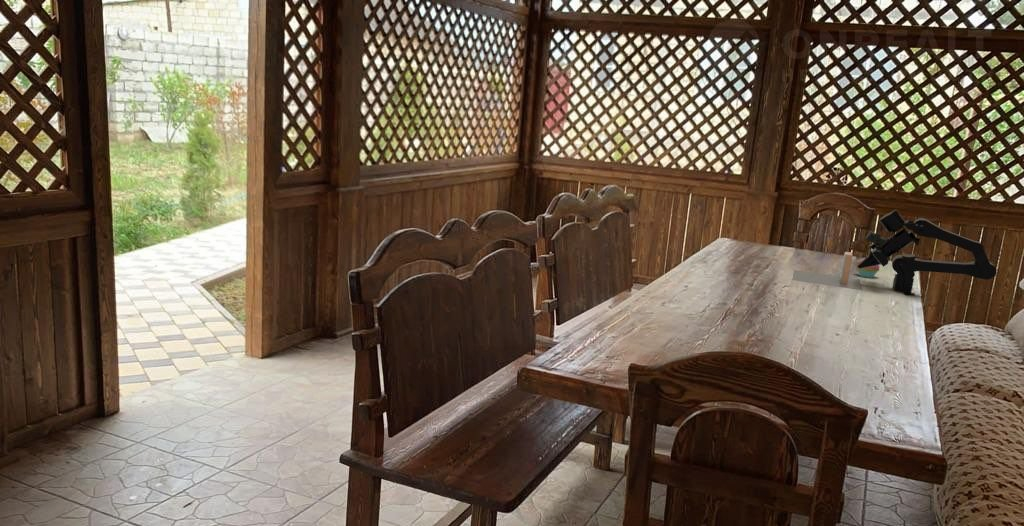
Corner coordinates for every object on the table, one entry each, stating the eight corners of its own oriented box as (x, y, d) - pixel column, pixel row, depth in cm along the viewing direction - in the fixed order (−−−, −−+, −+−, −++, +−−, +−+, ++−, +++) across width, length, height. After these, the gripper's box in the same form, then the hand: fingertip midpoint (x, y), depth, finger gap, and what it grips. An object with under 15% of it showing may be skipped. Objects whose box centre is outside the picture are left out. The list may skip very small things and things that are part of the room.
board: (859, 281, 285) (859, 279, 285) (862, 292, 267) (862, 290, 267) (793, 271, 294) (793, 269, 294) (791, 281, 276) (792, 279, 276)
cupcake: (881, 281, 288) (887, 251, 286) (859, 279, 288) (865, 249, 286) (871, 276, 297) (876, 247, 294) (850, 274, 297) (855, 245, 294)
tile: (846, 280, 281) (851, 252, 279) (847, 284, 275) (852, 255, 272) (839, 279, 282) (844, 251, 279) (840, 283, 276) (845, 254, 273)
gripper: (880, 221, 278) (843, 246, 285) (884, 228, 261) (845, 254, 268) (899, 245, 277) (862, 269, 284) (904, 253, 260) (864, 278, 267)
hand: (858, 267), depth 275 cm, fingers closed
